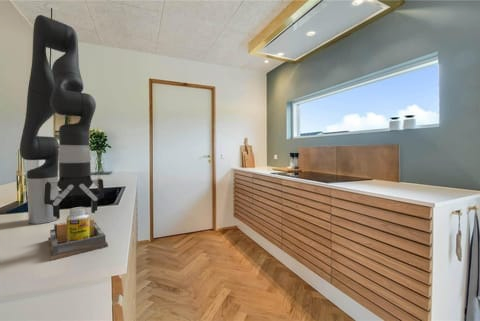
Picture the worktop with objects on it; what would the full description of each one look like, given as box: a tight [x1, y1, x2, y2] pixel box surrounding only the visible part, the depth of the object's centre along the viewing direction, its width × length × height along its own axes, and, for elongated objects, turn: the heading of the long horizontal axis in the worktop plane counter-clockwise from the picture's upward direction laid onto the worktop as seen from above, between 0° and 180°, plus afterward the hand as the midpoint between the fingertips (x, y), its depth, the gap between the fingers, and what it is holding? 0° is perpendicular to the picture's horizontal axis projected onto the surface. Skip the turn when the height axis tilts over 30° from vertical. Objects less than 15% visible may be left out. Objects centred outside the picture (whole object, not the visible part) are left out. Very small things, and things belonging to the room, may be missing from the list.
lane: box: [48, 217, 109, 261], centre depth 69 cm, size 17×13×5 cm
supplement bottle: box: [66, 206, 90, 242], centre depth 68 cm, size 6×6×10 cm
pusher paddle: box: [56, 218, 95, 242], centre depth 70 cm, size 1×9×5 cm, turn 131°
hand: (76, 215), depth 68 cm, fingers open, 8 cm apart
